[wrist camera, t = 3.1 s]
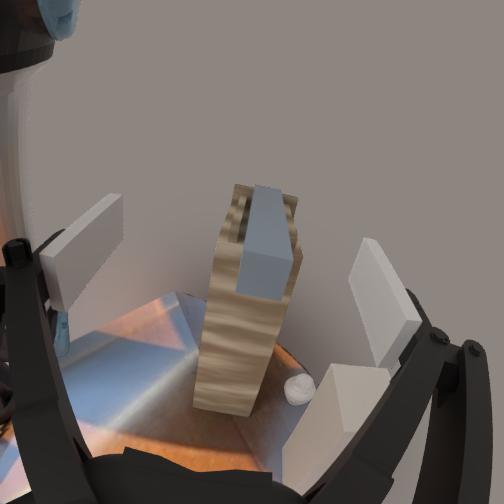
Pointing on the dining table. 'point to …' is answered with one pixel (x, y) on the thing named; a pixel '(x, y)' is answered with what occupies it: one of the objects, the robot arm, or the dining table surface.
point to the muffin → (299, 389)
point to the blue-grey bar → (265, 247)
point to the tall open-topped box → (239, 318)
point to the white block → (330, 422)
